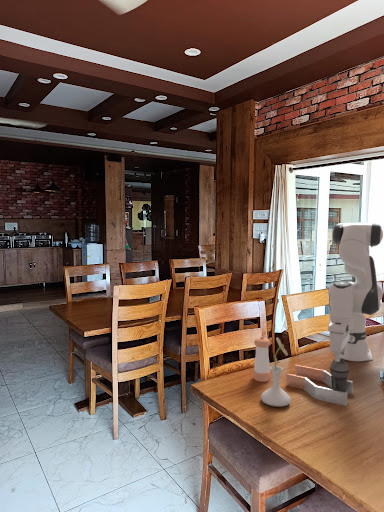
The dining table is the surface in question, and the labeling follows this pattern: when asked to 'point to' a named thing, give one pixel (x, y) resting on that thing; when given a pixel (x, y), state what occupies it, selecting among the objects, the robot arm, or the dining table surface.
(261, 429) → the dining table surface
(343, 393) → the rail track
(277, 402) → the flower in vase
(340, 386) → the beverage cup
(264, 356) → the pepper shaker
